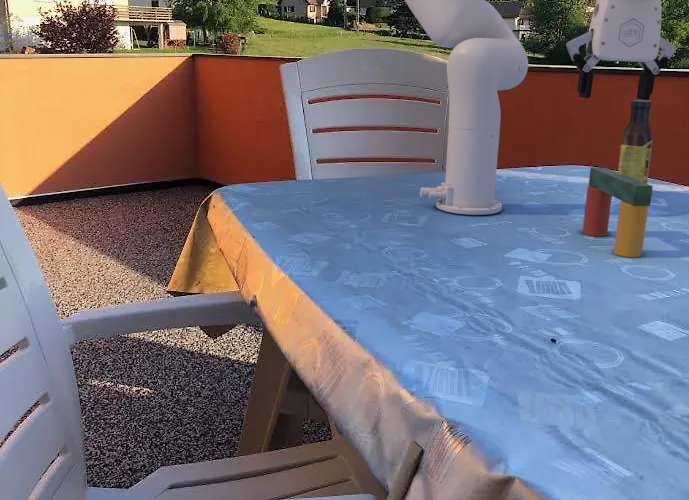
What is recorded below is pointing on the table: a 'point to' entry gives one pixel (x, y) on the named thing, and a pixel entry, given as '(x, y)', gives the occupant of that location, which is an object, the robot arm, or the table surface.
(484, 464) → the table surface
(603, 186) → the green bar
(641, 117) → the sauce bottle
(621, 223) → the yellow rod
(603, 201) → the red rod
